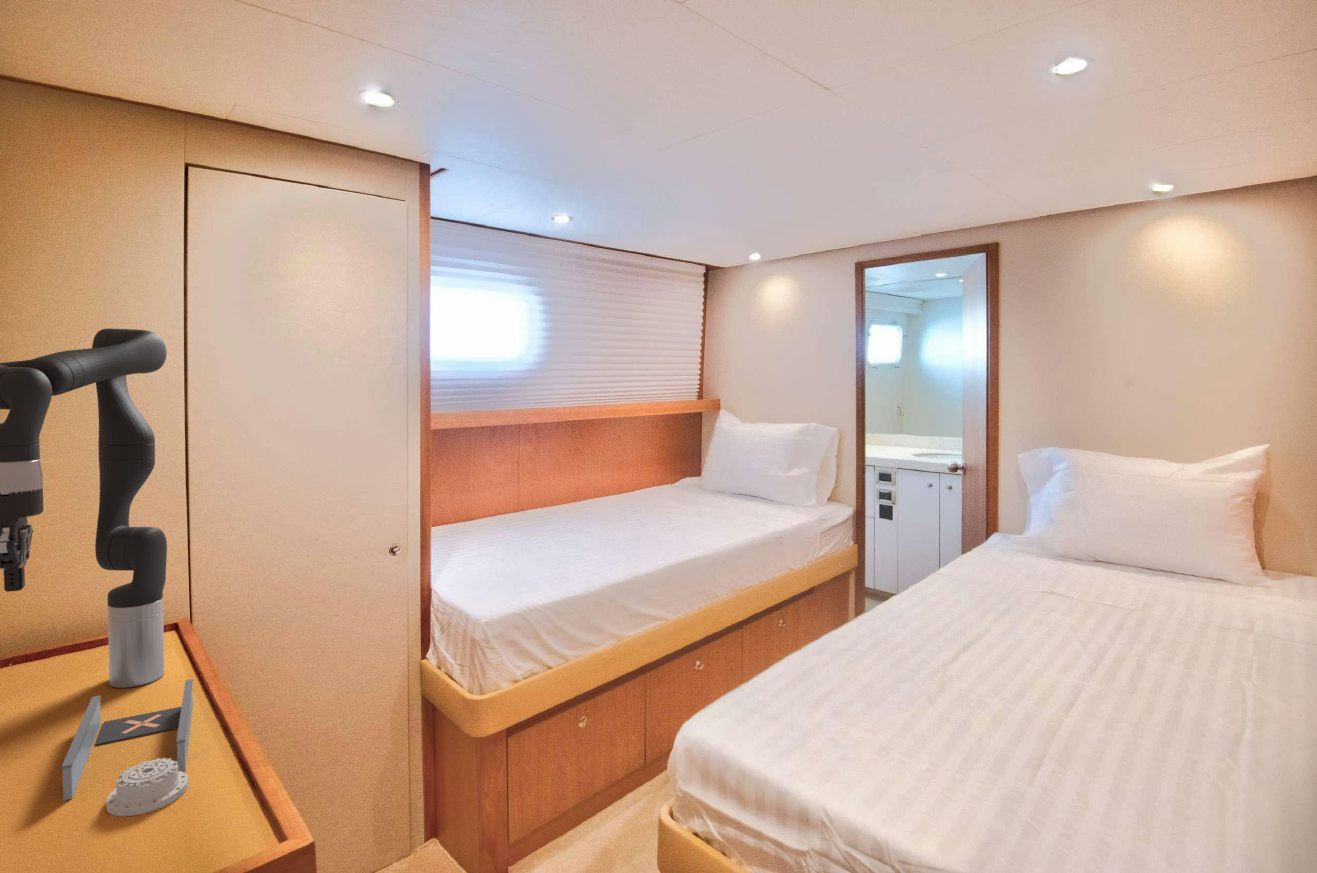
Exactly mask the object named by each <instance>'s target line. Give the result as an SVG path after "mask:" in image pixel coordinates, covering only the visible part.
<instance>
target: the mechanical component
mask: <svg viewBox="0 0 1317 873" xmlns="http://www.w3.org/2000/svg"><path fill="white" fill-rule="evenodd" d="M115 784H116V787H115V788H114V789H113V790H112V791H111V792H110V793H109V794H108V795H107V798H106V800H105V804H106V805H105V806H106V811H107V813H108V814H110V815H112V816H116V817H131V816H133V817H134V816H138V815H143V814H146V813H151V812H153V811H155V810H159V809H161V808H163V807H165V806H168V805H170V804H171V803H173V802H174V801H176V800H177V799H179V798H180V797H182V795H183V794H185V792H186V791H187V789H188V786H189V777H188V775H187V773H186V772H181V771H178V764H177V760H172V758H171V757H170V758H167V757H163V758H159V757H158V758H155V759H154V760H149V761H145V760H144V761H141V763H138V764H137V765H135V766H130V767H128V768H127V770H123V771H122V773H120V774H119V775H118V778H117V779H116V783H115Z"/></svg>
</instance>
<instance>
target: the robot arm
mask: <svg viewBox="0 0 1317 873" xmlns="http://www.w3.org/2000/svg"><path fill="white" fill-rule="evenodd" d="M166 347H167V346H166V344H165V342H164V339H163V338H162V337H161V335H158V334H157V333H156V332H154V331H150V330H146V329H133V328H131V329H130V328H110V327H109V328H103V329H99V330H98V331H97V332H96V334H95V335H94V337H93V340H92V345H91V347H90V348H81V349H80V348H79V349H71V350H70V349H69V350H64V351H58V352H53V353H50V354H49V353H48V354H45V355H42V356H38V357H34V358H31V359H25V360H15V361H14V360H13V361H8V362H7V361H6V362H0V410H9V412H8V414H7V416H6V418H5V420H4V422H1V423H0V570H2V571H3V586H4V588H3V590H4V591H5V592H18V591H22V590H23V589H24V588H25V587H26V579H25V578H26V576H25V575H26V574H25V572H26V571H25V567H26V565H27V564H28V561H27V560H29V558H30V552H31V551H30V550H31V545H32V538H33V533H34V529H33V526H32V524H28V523H29V522H28V517H34V516H37V515H41V514H43V512H44V480H43V478H44V477H43V468H42V464H41V460H40V459H41V451H40V450H41V448H40V445H41V444H40V435H41V431H42V429H43V425H44V423H45V419H46V417H47V413H48V411H49V410H48V409H49V407H50V404H51V402H52V397H55V396H60V395H63V394H66V393H69V392H71V391H74V390H77V389H80V388H83V387H87V386H90V385H92V384H95V387H96V394H97V395H96V396H97V411H98V413H97V414H98V443H97V444H98V468H99V470H98V471H99V500H98V502H99V504H98V515H97V523H96V524H97V525H96V533H95V534H96V535H95V544H94V546H95V550H94V551H95V559H96V562H97V564H98V565H99V566H100V568H101V569H103V570H107V571H127V572H128V571H131V572H133V573H132V580H131V582H129V583H125V584H122V585H120V586H116V587H114V588H112V589H111V590H109V591H108V592H107V624H108V628H107V630H108V673H109V674H108V677H109V680H108V682H109V686H111V687H113V688H118V689H119V688H122V689H125V688H132V687H133V688H134V687H138V686H142V685H146V684H149V683H152V682H155V681H158V680H159V679H161V678H162V677H163V676H164V675H165V643H164V642H165V640H164V638H165V636H164V629H165V628H164V594H163V593H164V587H165V584H166V580H167V577H166V576H167V571H166V570H167V557H168V555H167V554H168V544H167V542H168V540H167V537H166V535H165V532H164V531H163V530H161V528H158V527H153V526H130V513H131V512H130V510H131V506H132V503H133V500H134V499H135V497H136V495H137V494H138V492H139V491H140V489H141V488H142V487H143V486H144V484H145V482H147V480H148V479H149V476H150V475H151V474H152V473H153V470H154V468H155V465H156V464H155V463H156V444H155V442H156V438H155V433H154V431H153V429H152V428H151V425H149V422H147V420H146V419H145V417H144V416H143V415H142V413H141V411H139V410H138V408H137V407H136V405H135V404H134V401H133V400H132V398H131V396H130V393H129V389H128V384H127V376H130V375H136V374H148V373H149V374H150V373H154V372H156V371H159V370H160V369H161V368H162V367H163V366H164V364H165V362H166V359H167V354H168V353H167V348H166Z"/></svg>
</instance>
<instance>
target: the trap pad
mask: <svg viewBox="0 0 1317 873" xmlns="http://www.w3.org/2000/svg"><path fill="white" fill-rule="evenodd" d="M181 707H182V706H178V707H173V708H172V707H171V708H168V709H162V710H158V711H157V710H156V711H151V712H147V713H141V714H136V715H132V716H127V717H121V718H116V719H111V720H106V721H105V720H104V721H103V723H102V726H101V728H100V729H101V730H100V732H99V735H98V737H97V740H96V742H95V746H97V747H98V746H101V745H107V744H110V743H111V742H112V743H115V742H116V743H117V742H121V741H125V740H129V739H134V738H139V737H144V736H149V735H153V734H157V733H162V732H167V731H168V732H169V731H173V730H178V727H179V720H180V714H181ZM112 743H111V744H112Z"/></svg>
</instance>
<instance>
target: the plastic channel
mask: <svg viewBox="0 0 1317 873" xmlns="http://www.w3.org/2000/svg"><path fill="white" fill-rule="evenodd" d="M193 684H194V678H191V679H185V682H184V689H183V695H182V700H181V706H180V707H181V714H180V720H179V727H178V729H177V734H176V741H175V742H176V751H177V753H176V754H177V756H176V757H177V760H176V761H177V764H178V771H181V772H184V773H186V765H187V761H188V760H187V758H188V750H189V744H190V742H189V741H190V733H191V727H192V726H191V725H192V717H193V716H192V715H193V708H194V700H193V698H194V696H193V691H194V690H193V689H194V688H193ZM101 697H102V696H101V695H95V696H91V699H90V700H89V703H88V706H87V708H86V711H85V712H84V714H83V716H82V720H81V721H80V724H79V726H78V729H77V731H76V732H75V734H74V738H73V740H72V742H71V744H70V747H69V749H68V752H67V754H66V756H65V758H64V760H63V762H62V765H61V771H62V797H63V799H62V800H63V802H65V801H69V800H72V799H73V798H74V795H75V792H76V790H77V788H78V785H79V782H80V779H81V777H82V774H83V771H84V770H85V768H86V767H85V766H86V763H87V761H88V758H89V756H90V753H91V751H92V748H93V745H94V744H95V740H96V737H97V734H98V732H99V730H100V727H101V719H102V718H101V717H102V716H101V699H102V698H101Z"/></svg>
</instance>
